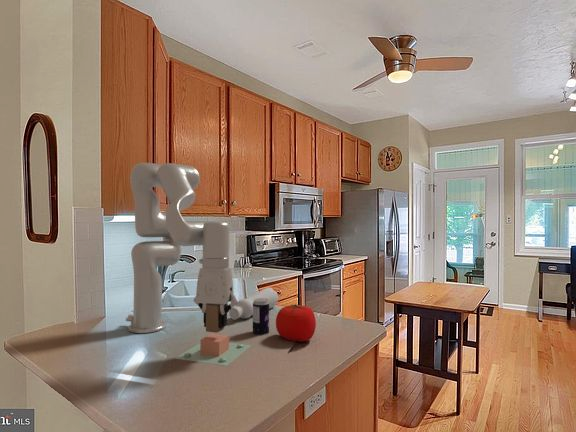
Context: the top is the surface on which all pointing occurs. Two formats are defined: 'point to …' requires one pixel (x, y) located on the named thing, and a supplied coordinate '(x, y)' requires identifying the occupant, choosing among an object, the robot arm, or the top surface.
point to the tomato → (296, 323)
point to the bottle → (246, 305)
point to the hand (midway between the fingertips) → (215, 325)
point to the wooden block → (213, 318)
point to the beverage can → (261, 316)
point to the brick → (214, 344)
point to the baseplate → (223, 359)
